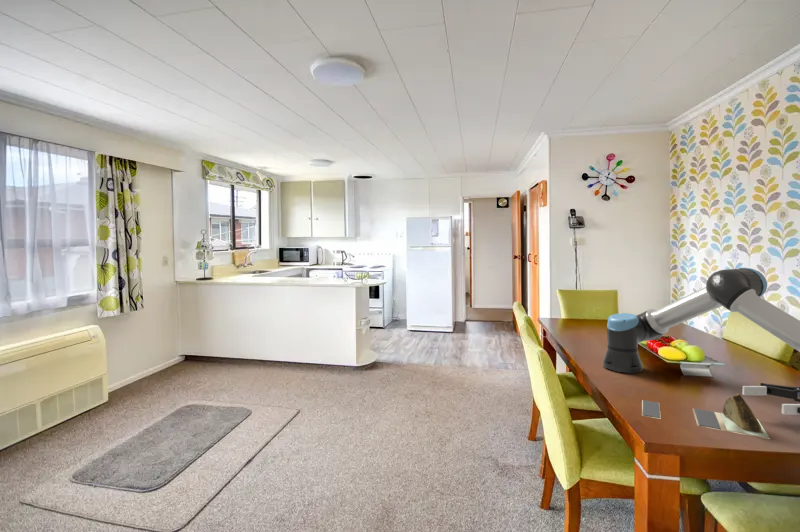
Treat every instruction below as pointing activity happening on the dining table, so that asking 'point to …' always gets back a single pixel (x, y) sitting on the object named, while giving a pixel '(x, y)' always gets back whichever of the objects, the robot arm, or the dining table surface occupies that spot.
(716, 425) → the trap middle
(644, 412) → the trap near
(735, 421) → the rock
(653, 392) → the dining table surface
